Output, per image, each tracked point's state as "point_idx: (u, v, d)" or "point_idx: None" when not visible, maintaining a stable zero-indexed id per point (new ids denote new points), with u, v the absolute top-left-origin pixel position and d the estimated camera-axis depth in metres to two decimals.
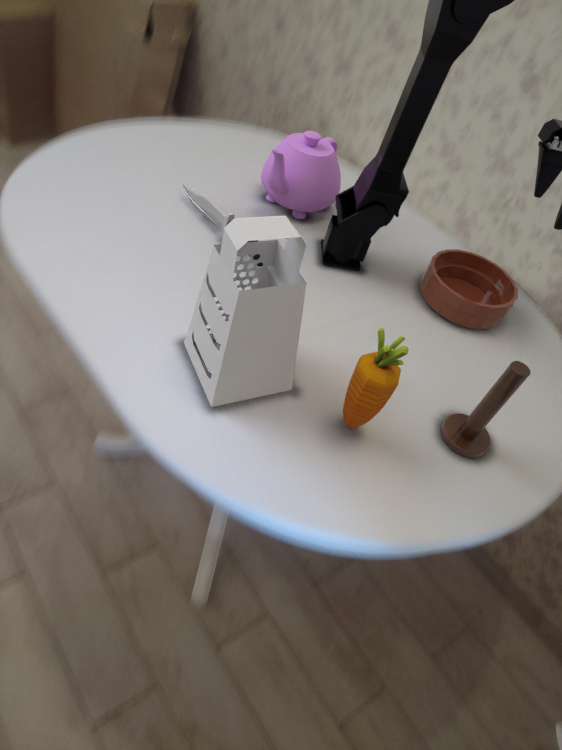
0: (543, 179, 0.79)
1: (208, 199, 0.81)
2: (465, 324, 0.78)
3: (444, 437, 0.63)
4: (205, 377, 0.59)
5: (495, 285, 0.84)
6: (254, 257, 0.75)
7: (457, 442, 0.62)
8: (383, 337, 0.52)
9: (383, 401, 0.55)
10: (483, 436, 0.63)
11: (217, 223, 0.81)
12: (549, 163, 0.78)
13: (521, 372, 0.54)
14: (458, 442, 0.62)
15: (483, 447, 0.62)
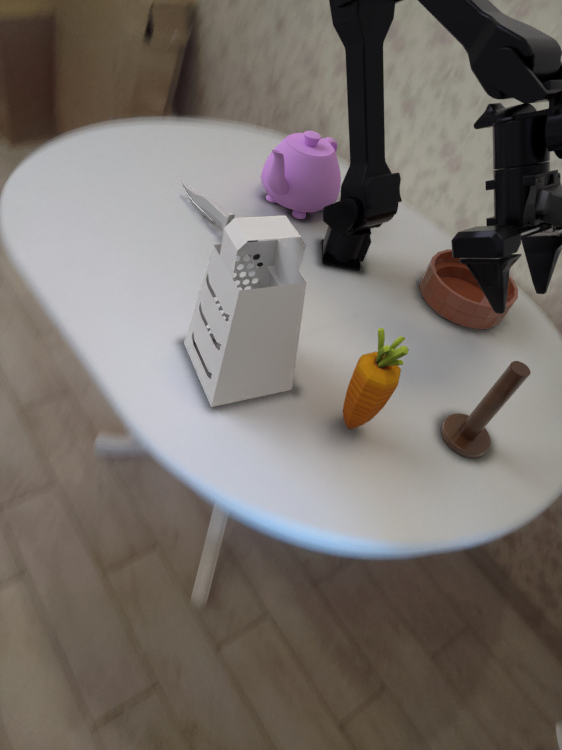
0: (535, 271, 0.64)
1: (208, 199, 0.81)
2: (465, 324, 0.78)
3: (444, 437, 0.63)
4: (205, 377, 0.59)
5: None
6: (254, 257, 0.75)
7: (457, 442, 0.62)
8: (383, 337, 0.52)
9: (383, 401, 0.55)
10: (483, 436, 0.63)
11: (217, 223, 0.81)
12: (534, 251, 0.64)
13: (521, 372, 0.54)
14: (458, 442, 0.62)
15: (483, 447, 0.62)
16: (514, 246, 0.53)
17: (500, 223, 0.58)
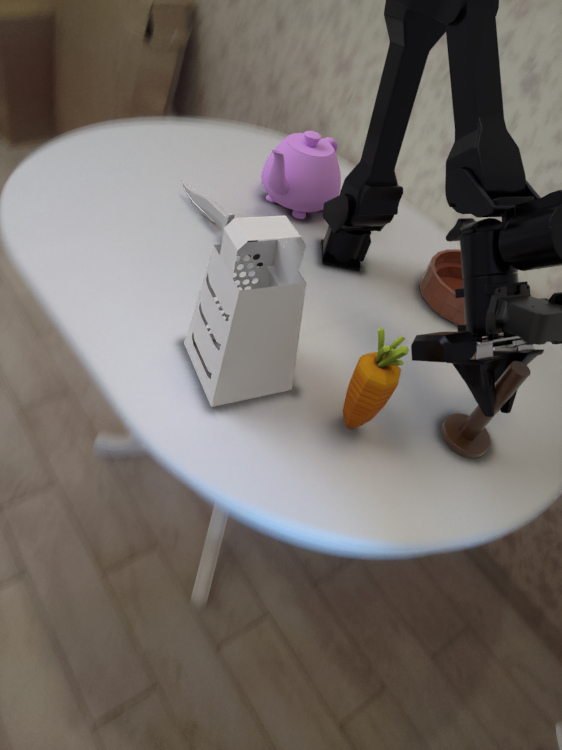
0: None
1: (208, 199, 0.81)
2: None
3: (444, 437, 0.63)
4: (205, 377, 0.59)
5: None
6: (254, 257, 0.75)
7: (457, 442, 0.62)
8: (383, 337, 0.52)
9: (383, 401, 0.55)
10: (483, 436, 0.63)
11: (217, 223, 0.81)
12: (497, 367, 0.59)
13: (521, 372, 0.54)
14: (458, 442, 0.62)
15: (483, 447, 0.62)
16: (467, 352, 0.52)
17: (467, 330, 0.57)
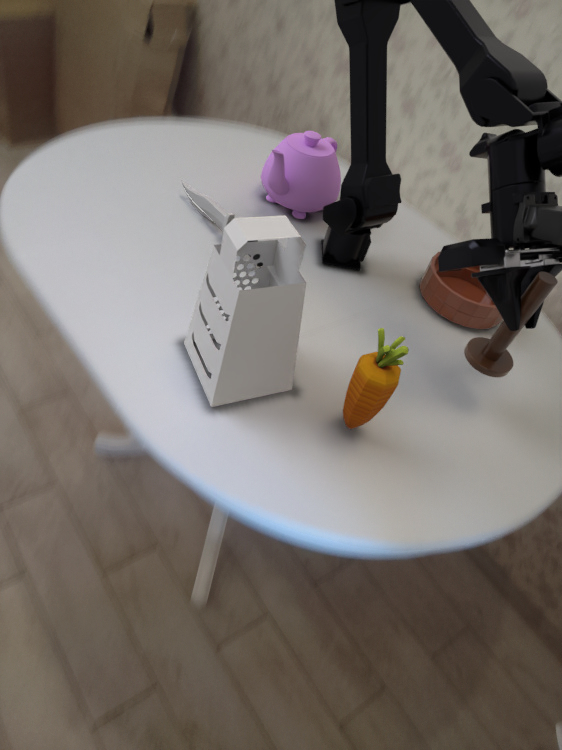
0: None
1: (208, 199, 0.81)
2: (465, 324, 0.78)
3: (467, 358, 0.63)
4: (205, 377, 0.59)
5: None
6: (254, 257, 0.75)
7: (481, 361, 0.62)
8: (383, 337, 0.52)
9: (383, 401, 0.55)
10: (506, 357, 0.64)
11: (217, 223, 0.81)
12: (523, 283, 0.60)
13: (548, 281, 0.54)
14: (482, 361, 0.62)
15: (506, 367, 0.62)
16: (496, 257, 0.52)
17: None
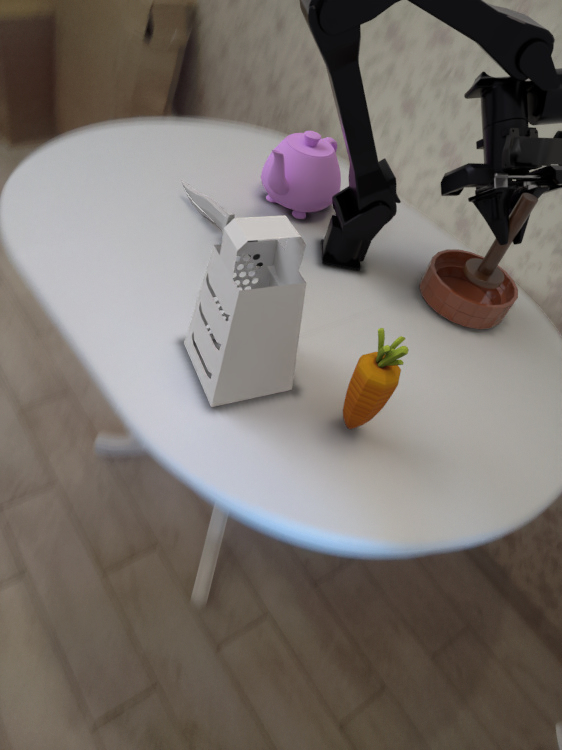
0: None
1: (208, 199, 0.81)
2: (465, 324, 0.78)
3: (466, 273, 0.75)
4: (205, 377, 0.59)
5: None
6: (254, 257, 0.75)
7: (477, 275, 0.75)
8: (383, 337, 0.52)
9: (383, 401, 0.55)
10: (498, 273, 0.76)
11: (217, 223, 0.81)
12: (511, 207, 0.72)
13: (530, 199, 0.67)
14: (477, 275, 0.75)
15: (498, 280, 0.75)
16: (487, 177, 0.65)
17: None
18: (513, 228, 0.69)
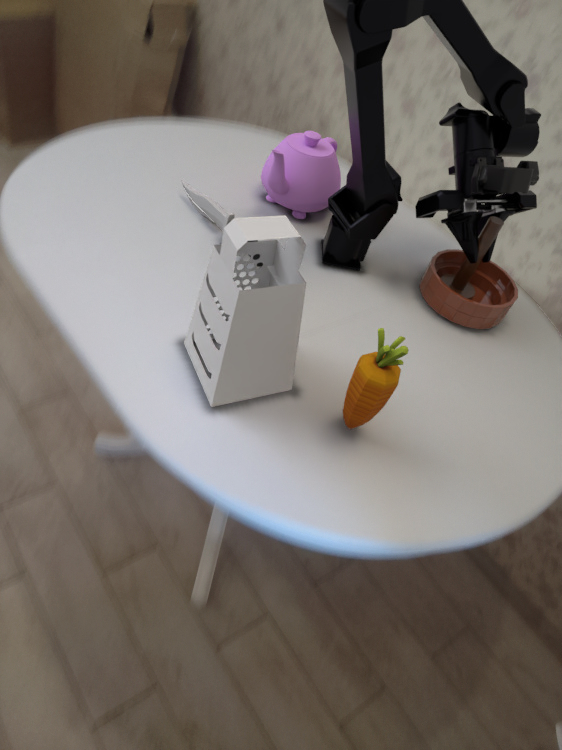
0: None
1: (208, 199, 0.81)
2: (465, 324, 0.78)
3: None
4: (205, 377, 0.59)
5: (495, 285, 0.84)
6: (254, 257, 0.75)
7: None
8: (383, 337, 0.52)
9: (383, 401, 0.55)
10: (469, 288, 0.82)
11: (217, 223, 0.81)
12: (480, 228, 0.78)
13: (496, 222, 0.73)
14: None
15: (469, 295, 0.81)
16: (457, 203, 0.71)
17: None
18: (482, 248, 0.76)
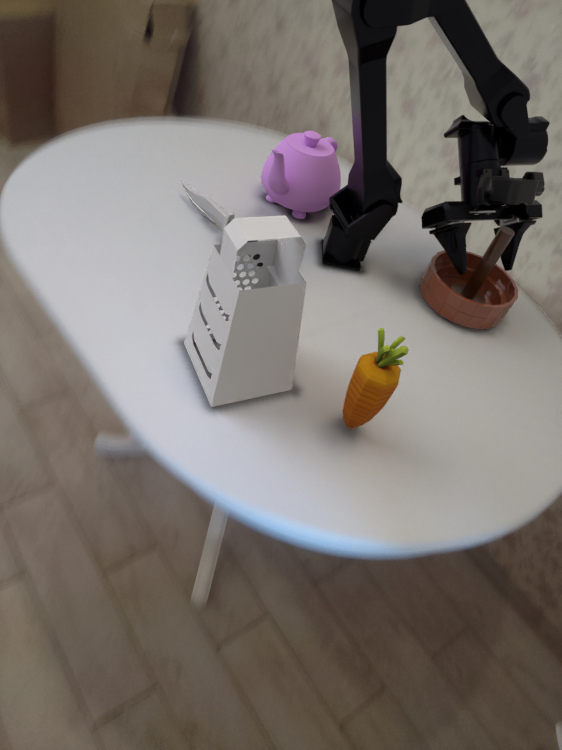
0: (503, 252, 0.80)
1: (208, 199, 0.81)
2: (465, 324, 0.78)
3: None
4: (205, 377, 0.59)
5: (495, 285, 0.84)
6: (254, 257, 0.75)
7: None
8: (383, 337, 0.52)
9: (383, 401, 0.55)
10: (480, 297, 0.83)
11: (217, 223, 0.81)
12: None
13: (507, 232, 0.73)
14: None
15: None
16: (463, 214, 0.71)
17: None
18: (492, 257, 0.76)
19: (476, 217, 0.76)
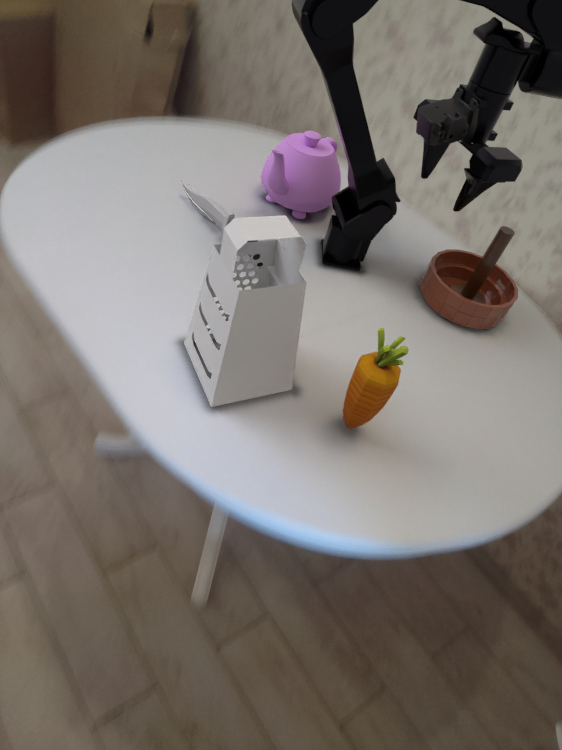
0: None
1: (208, 199, 0.81)
2: (465, 324, 0.78)
3: None
4: (205, 377, 0.59)
5: (495, 285, 0.84)
6: (254, 257, 0.75)
7: None
8: (383, 337, 0.52)
9: (383, 401, 0.55)
10: (480, 297, 0.83)
11: (217, 223, 0.81)
12: None
13: (507, 232, 0.73)
14: None
15: None
16: None
17: None
18: (492, 257, 0.76)
19: None
